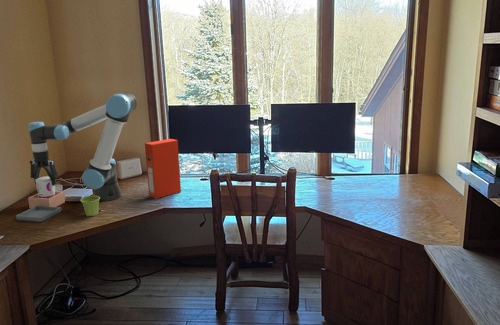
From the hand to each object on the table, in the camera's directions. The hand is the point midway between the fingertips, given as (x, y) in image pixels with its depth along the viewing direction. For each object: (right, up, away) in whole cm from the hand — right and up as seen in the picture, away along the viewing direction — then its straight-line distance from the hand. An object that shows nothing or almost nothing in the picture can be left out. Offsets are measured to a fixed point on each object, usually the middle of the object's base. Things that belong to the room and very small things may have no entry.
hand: (46, 190), depth 225 cm
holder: (0, -8, +2) cm, 8 cm away
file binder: (+62, -4, +18) cm, 65 cm away
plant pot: (+30, -12, -13) cm, 35 cm away
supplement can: (0, -8, +2) cm, 8 cm away
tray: (+3, -12, -14) cm, 19 cm away
